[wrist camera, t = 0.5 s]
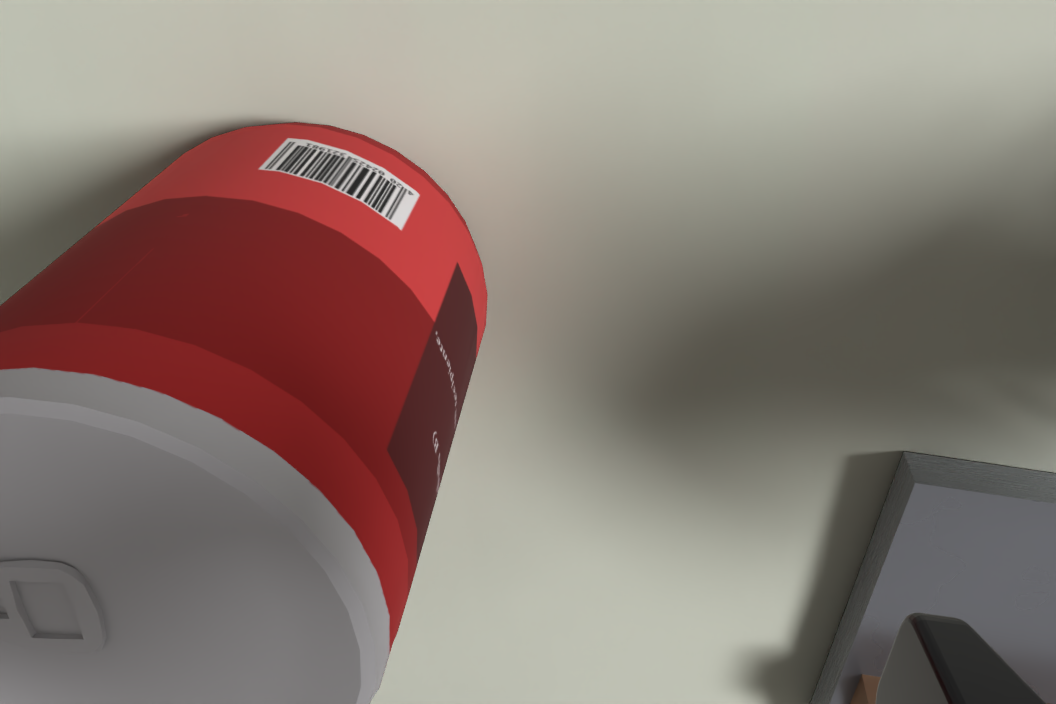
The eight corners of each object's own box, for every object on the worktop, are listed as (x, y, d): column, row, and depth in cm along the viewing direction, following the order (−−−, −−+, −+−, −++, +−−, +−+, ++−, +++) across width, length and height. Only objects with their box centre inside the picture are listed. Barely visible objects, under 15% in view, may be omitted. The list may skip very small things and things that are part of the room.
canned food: (90, 162, 22) (-330, 463, 13) (423, 62, 20) (222, 330, 11) (239, 438, 26) (-1, 835, 16) (536, 376, 24) (459, 785, 14)
